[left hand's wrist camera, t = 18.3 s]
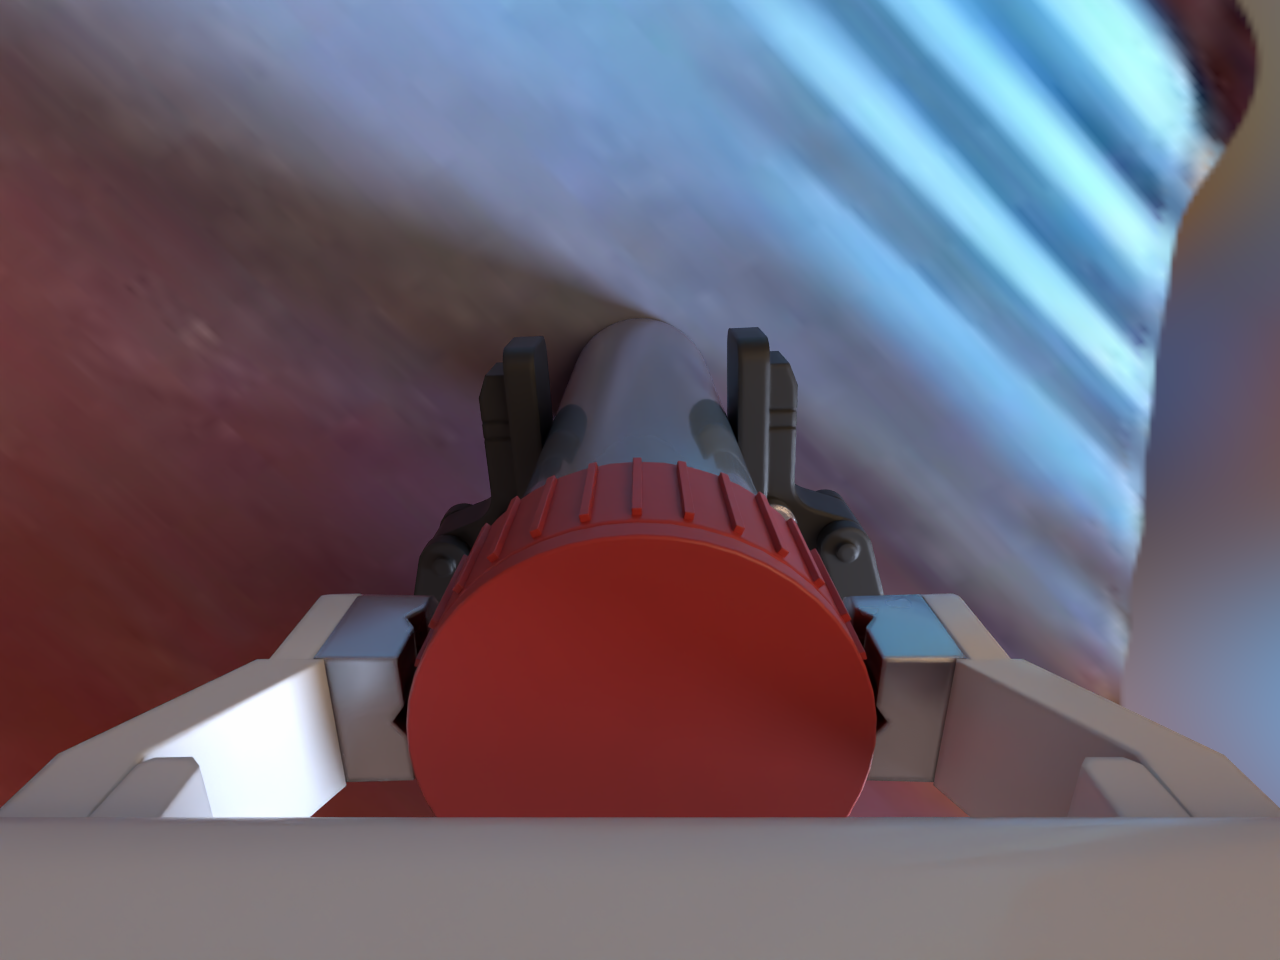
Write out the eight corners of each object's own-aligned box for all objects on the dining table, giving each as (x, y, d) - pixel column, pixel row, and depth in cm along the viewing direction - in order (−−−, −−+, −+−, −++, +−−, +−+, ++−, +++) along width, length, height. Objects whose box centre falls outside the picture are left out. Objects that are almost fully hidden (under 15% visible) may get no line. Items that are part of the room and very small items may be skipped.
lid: (708, 834, 12) (723, 974, 9) (389, 697, 11) (327, 820, 9) (912, 569, 10) (985, 669, 8) (554, 379, 9) (528, 435, 7)
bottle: (552, 343, 23) (397, 596, 8) (686, 298, 23) (771, 484, 8) (599, 468, 25) (537, 869, 10) (725, 429, 24) (858, 790, 9)
